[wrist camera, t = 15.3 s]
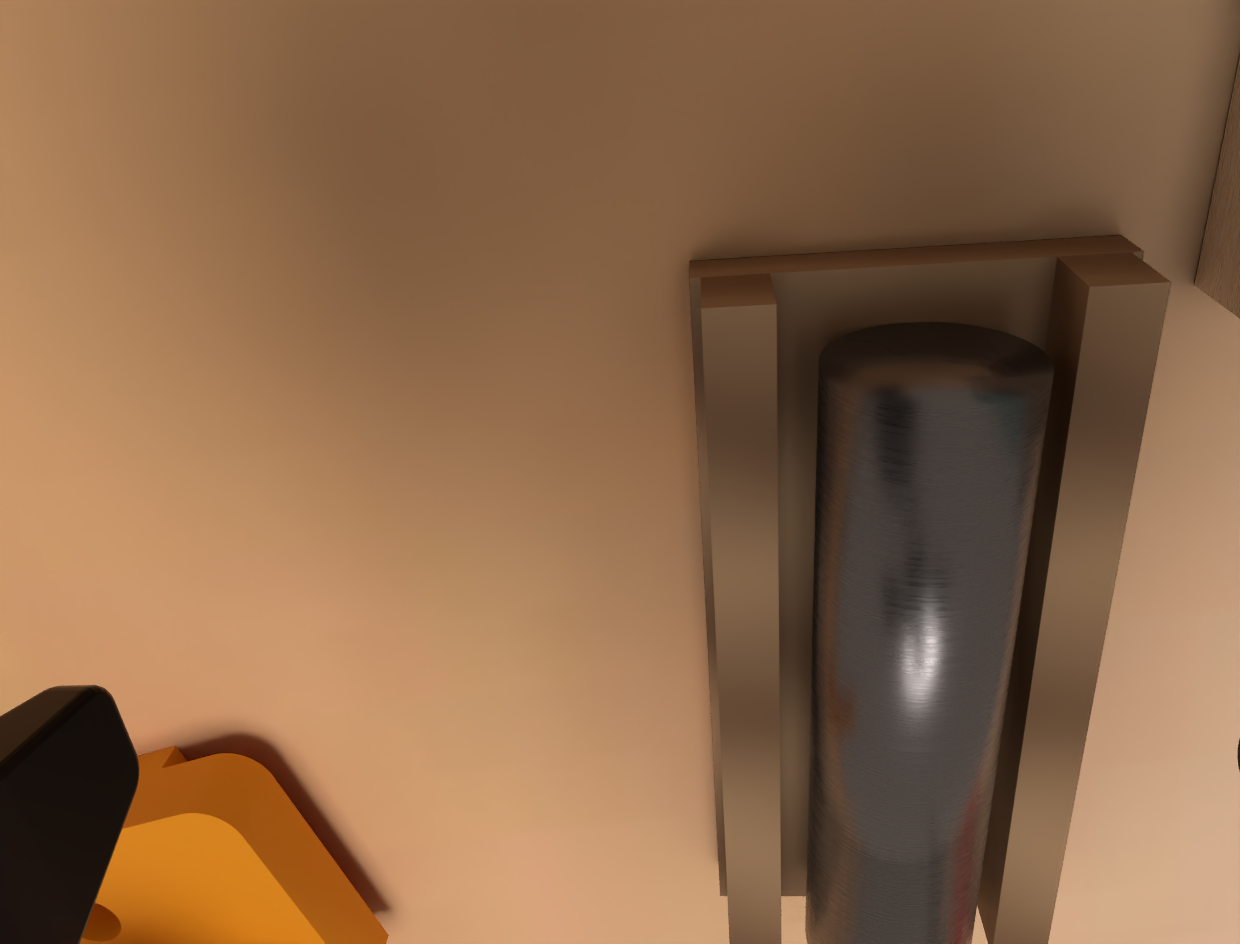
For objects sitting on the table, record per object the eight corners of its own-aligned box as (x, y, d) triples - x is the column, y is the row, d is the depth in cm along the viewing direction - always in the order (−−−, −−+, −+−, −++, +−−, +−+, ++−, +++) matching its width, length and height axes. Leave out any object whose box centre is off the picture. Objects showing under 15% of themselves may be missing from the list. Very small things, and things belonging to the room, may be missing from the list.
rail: (689, 261, 18) (688, 309, 16) (1121, 235, 18) (1184, 281, 15) (719, 862, 26) (721, 953, 24) (1022, 862, 25) (1054, 956, 23)
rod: (800, 330, 18) (845, 418, 14) (1004, 315, 18) (1094, 399, 14) (792, 874, 24) (822, 1015, 21) (940, 863, 24) (993, 1003, 21)
